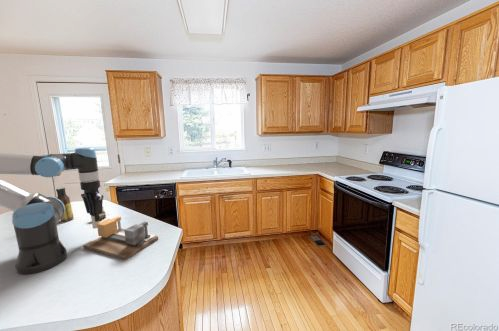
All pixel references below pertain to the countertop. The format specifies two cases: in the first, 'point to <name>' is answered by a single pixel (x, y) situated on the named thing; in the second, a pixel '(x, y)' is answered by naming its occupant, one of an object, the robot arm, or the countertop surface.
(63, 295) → the countertop surface
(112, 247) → the brown board with bar
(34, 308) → the countertop surface
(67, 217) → the sauce bottle
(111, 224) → the block
